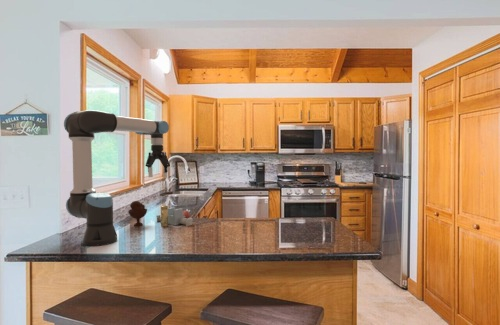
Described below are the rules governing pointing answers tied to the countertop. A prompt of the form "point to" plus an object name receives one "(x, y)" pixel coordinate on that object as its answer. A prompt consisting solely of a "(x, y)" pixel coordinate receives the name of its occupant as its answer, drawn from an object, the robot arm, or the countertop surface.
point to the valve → (177, 217)
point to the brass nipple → (164, 216)
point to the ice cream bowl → (137, 211)
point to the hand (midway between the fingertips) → (157, 177)
